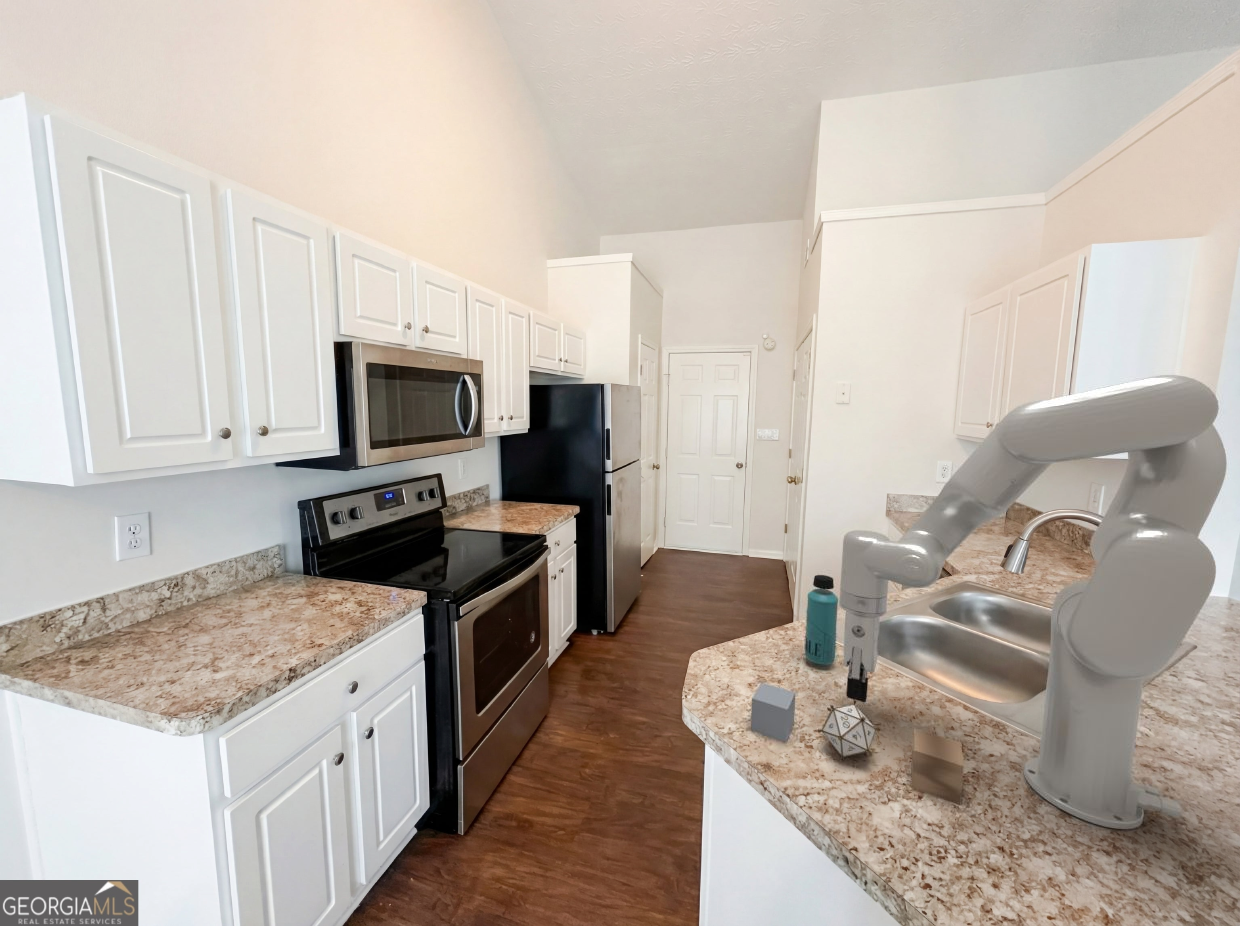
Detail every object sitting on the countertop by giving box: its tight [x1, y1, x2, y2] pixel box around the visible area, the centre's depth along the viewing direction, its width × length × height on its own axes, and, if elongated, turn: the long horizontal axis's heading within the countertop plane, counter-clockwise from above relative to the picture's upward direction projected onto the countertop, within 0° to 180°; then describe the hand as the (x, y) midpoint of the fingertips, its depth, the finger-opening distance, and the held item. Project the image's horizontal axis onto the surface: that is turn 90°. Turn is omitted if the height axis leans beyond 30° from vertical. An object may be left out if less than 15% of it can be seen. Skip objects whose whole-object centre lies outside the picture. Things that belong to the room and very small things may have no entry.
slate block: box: [750, 682, 796, 744], centre depth 85 cm, size 6×6×6 cm
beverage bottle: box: [803, 574, 839, 665], centre depth 106 cm, size 6×7×20 cm
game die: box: [816, 699, 882, 763], centre depth 78 cm, size 9×8×10 cm
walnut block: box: [910, 727, 965, 806], centre depth 72 cm, size 6×6×6 cm
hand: (856, 697), depth 88 cm, fingers closed
